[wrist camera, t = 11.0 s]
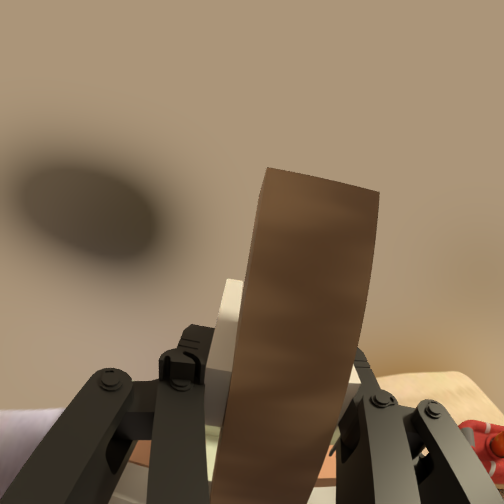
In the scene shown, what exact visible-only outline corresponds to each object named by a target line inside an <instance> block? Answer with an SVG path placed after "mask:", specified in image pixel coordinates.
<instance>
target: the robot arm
mask: <svg viewBox="0 0 504 504" xmlns="http://www.w3.org/2000/svg"><path fill="white" fill-rule="evenodd" d="M242 285H243V281H239V280H233V279H227V281H226V285H225V290H224V294H223V298H222V302H221V306H220V310H219V314H218V318H217V322H216V326H215V328H210V327H204V326H199V325H193V324H191V325H190V326H189V327H187V328H186V329H185V330H184V331H183V334H182V336H181V339H180V341H179V343H178V346H177V348H175V349H171V350H168V351H166V352H164V353H163V354H162V355H161V356H160V358H159V379H156V380H152V381H132V379H131V377H130V376H129V375H128V374H127V373H126V372H124V371H122V370H120V369H115V368H104V369H102V370H99V371H97V372H96V373H95V374H93V375H92V376H91V377H90V379H89V380H88V381H87V382H86V384H85V385H84V386H83V387H82V389H81V390H80V391H79V392H78V394H77V395H76V396H75V398H74V399H73V400H72V402H71V403H70V404H69V405H68V407H67V408H66V409H65V410H64V412H63V413H62V414H61V416H60V417H59V418H58V420H57V421H56V422H55V424H54V425H53V426H52V428H51V429H50V430H49V432H48V433H47V434H46V436H45V437H44V438H43V440H42V441H41V442H40V444H39V445H38V446H37V448H36V449H35V451H34V452H33V453H32V455H31V456H30V458H29V459H28V460H27V462H26V463H25V465H24V466H23V467H22V469H21V470H20V472H19V473H18V475H17V476H16V477H15V479H14V480H13V482H12V483H11V485H10V486H9V488H8V489H7V491H6V492H5V494H4V495H3V497H2V498H1V500H0V504H108V503H109V501H110V499H111V497H112V494H113V492H114V490H115V488H116V486H117V484H118V482H119V480H120V477H121V475H122V473H123V471H124V469H125V467H126V465H127V463H128V461H129V459H130V457H131V454H132V452H133V450H134V448H135V446H136V444H137V442H138V440H151V448H150V459H149V470H148V483H147V498H146V504H210V498H209V486H208V472H207V456H206V438H205V425H209V426H215V427H221V428H222V423H223V417H224V412H225V406H226V401H227V396H228V390H229V385H230V379H231V374H232V367H233V358H234V350H235V342H236V333H237V325H238V318H239V310H240V301H241V293H242ZM337 427H339V431H340V436H339V438H338V440H337V441H336V443H335V444H334V446H333V447H332V449H331V450H330V452H329V456H332V455H333V453H334V452H335V450H336V456H335V457H336V504H504V500H503V498H502V496H501V495H500V493H499V491H498V489H497V488H496V486H495V484H494V483H493V481H492V479H491V478H490V476H489V474H488V473H487V471H486V469H485V468H484V466H483V464H482V463H481V461H480V460H479V458H478V456H477V455H476V453H475V452H474V450H473V449H472V447H471V446H470V444H469V442H468V441H467V439H466V438H465V436H464V435H463V433H462V432H461V430H460V429H459V427H458V426H457V424H456V423H455V421H454V420H453V419H452V417H451V416H450V414H449V413H448V411H447V410H446V408H445V407H444V406H443V405H442V404H440V403H438V402H437V401H434V400H427V399H425V400H423V401H421V402H420V403H419V404H418V406H417V407H416V408H411V407H406V406H401V405H398V402H397V400H396V398H395V397H394V396H393V395H392V394H391V393H389V392H387V391H385V390H381V389H380V387H379V384H378V382H377V380H376V378H375V376H374V374H373V372H372V369H370V365H369V363H368V362H367V359H366V357H365V355H364V353H363V352H362V351H361V350H360V349H359V348H358V347H357V351H356V355H355V359H354V364H353V368H352V372H351V376H350V380H349V383H348V387H347V391H346V394H345V398H344V401H343V405H342V408H341V412H340V415H339V418H338V421H337V425H336V428H335V431H336V429H337ZM335 431H334V432H335ZM425 447H426V448H427V450H428V451H429V453H428V454H427V455H426V456H424V455H423V454H422V453H421V452H422V451H423V449H424V448H425Z"/></svg>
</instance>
